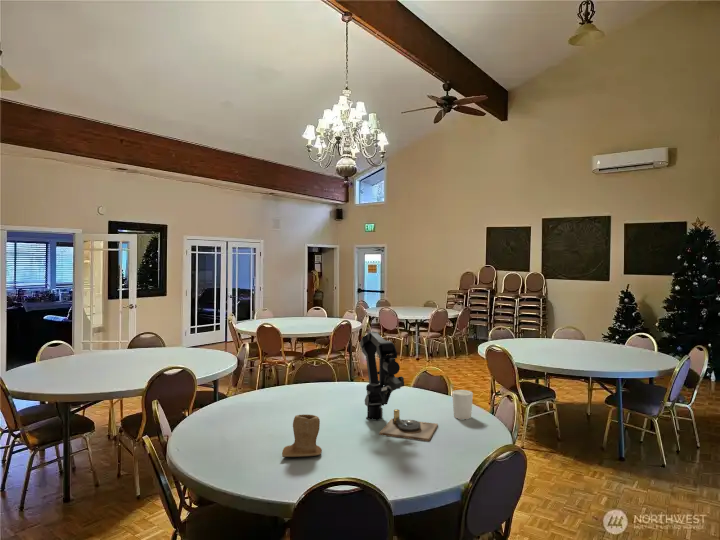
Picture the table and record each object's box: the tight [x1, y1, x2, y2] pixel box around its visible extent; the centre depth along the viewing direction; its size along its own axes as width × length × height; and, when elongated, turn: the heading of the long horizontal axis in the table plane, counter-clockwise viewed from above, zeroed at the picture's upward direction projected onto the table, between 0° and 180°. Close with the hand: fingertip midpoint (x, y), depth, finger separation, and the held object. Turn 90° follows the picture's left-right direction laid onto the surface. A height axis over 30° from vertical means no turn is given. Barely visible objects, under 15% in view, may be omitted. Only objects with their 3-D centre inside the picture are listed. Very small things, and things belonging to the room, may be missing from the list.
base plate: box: [378, 418, 439, 442], centre depth 207 cm, size 22×20×1 cm
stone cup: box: [281, 414, 323, 458], centre depth 180 cm, size 15×12×15 cm
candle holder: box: [451, 389, 474, 420], centre depth 225 cm, size 10×10×12 cm
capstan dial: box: [392, 408, 421, 432], centre depth 208 cm, size 14×10×6 cm
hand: (385, 404), depth 208 cm, fingers closed
